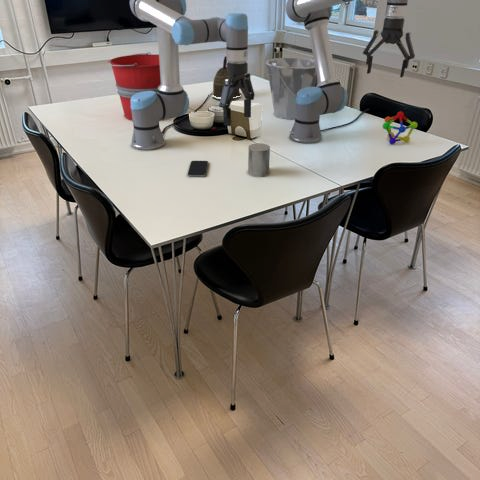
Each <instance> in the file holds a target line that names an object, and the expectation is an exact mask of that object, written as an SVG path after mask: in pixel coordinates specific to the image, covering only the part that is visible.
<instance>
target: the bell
mask: <svg viewBox="0 0 480 480" xmlns="http://www.w3.org/2000/svg"><path fill="white" fill-rule="evenodd" d="M227 63H228V61H227V59H226V56H224V58H223V63H222V67H221V68H219V69H218V70H217V71H216V73H215V75H214V78H213V81H212V83H213V84H212V90H213V92H212V95H214V96H216V97H221V94H222V90H223V86H224V79H229V77H230V75H229V74H228V73H227ZM231 88H232V87H231ZM240 91H241V90H240V89H239V90H237V91H236V92H235V94H234V96H233V97H236V96H240V95H241V96H242V92H240Z"/></svg>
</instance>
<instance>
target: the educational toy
mask: <svg viewBox="0 0 480 480" xmlns="http://www.w3.org/2000/svg"><path fill="white" fill-rule="evenodd" d="M397 119H399V124H400V125H399V127H398V126H393V125H391V124H392V123H394V122H395V121H396V120H397ZM403 120H404V121H405V122H407V123H408V124H409V125H407V126H404V123H403ZM417 127H418V122H417V121H411V120H410V119H409V118H408V117H406V116H405V113H404V112H403V111H401V110H400V111H398V112H397V114H396V115H394V116H391V117H390V116H386V117H385V118H384V122H383V123H382V129H383V130H386V132H387V138H388V142H389V145H395V144H396V143H397V142H402V141H403V142H404V143H409V142H410V140H411V138H410V136H411V134H412V132H413V131H414V130H415V129H417ZM392 129H393V130H397V131H398V132H396V134H395V133H394V132H392ZM408 129H409V131H408V133H407V134H406V135H404V136H401V134H403V133H405V132H406V130H408ZM399 135H400V136H399Z"/></svg>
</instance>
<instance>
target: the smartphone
mask: <svg viewBox="0 0 480 480" xmlns="http://www.w3.org/2000/svg"><path fill="white" fill-rule="evenodd" d="M208 166H209V161H208V160H191V161H190V164H189V168H188V172H187V176H188V177H206V176H207V170H208Z"/></svg>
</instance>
